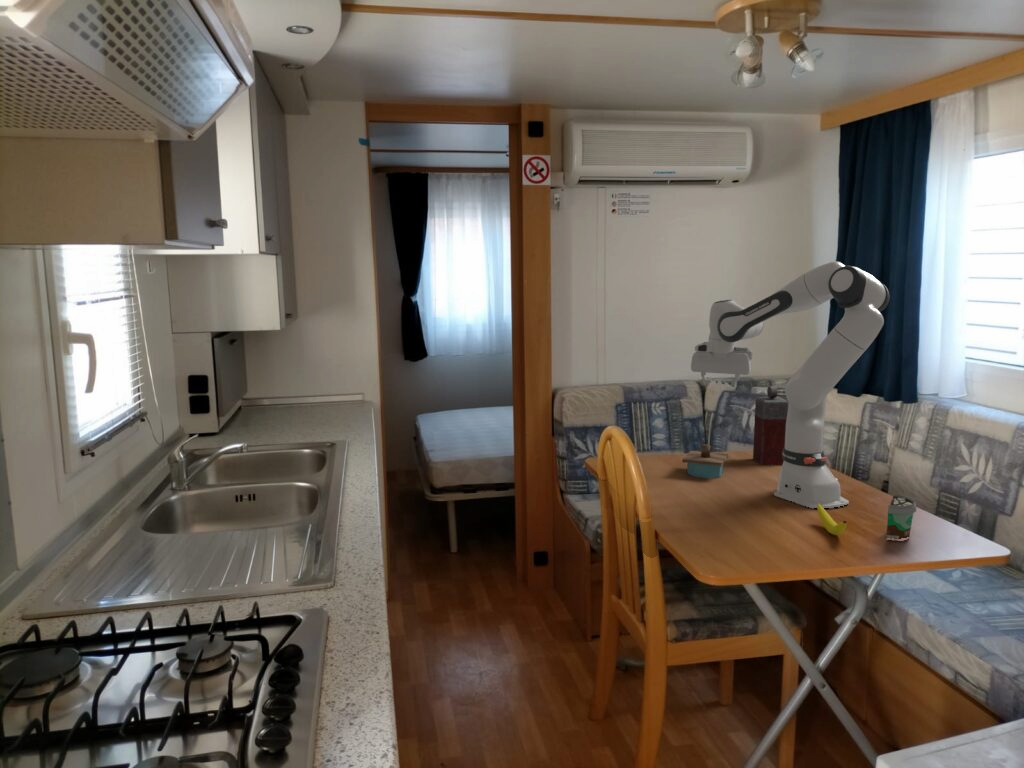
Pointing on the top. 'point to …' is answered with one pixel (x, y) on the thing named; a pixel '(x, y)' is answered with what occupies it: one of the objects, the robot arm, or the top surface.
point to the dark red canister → (770, 428)
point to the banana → (830, 522)
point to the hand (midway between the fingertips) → (719, 385)
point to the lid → (705, 457)
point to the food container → (900, 516)
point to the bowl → (704, 470)
